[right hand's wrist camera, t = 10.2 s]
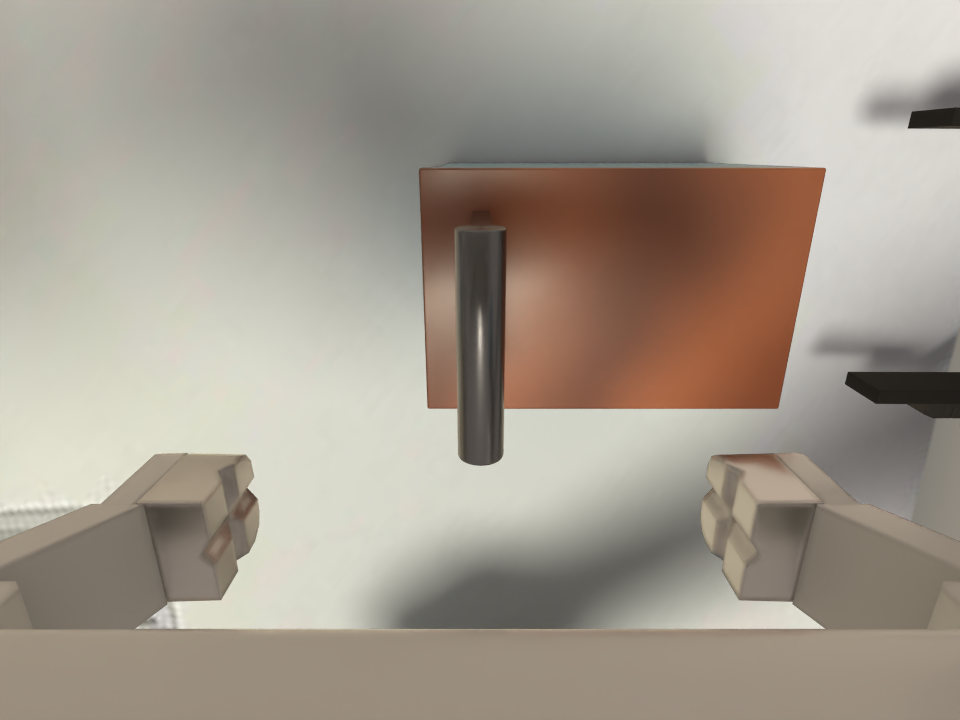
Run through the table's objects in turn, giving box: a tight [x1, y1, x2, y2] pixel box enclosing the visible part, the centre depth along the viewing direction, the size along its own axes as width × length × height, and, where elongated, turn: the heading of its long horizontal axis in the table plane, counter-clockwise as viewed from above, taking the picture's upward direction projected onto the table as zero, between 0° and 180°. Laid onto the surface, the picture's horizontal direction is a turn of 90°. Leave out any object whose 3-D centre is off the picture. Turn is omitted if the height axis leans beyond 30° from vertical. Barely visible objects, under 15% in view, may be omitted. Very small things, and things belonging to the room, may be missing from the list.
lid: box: [419, 167, 826, 466], centre depth 20 cm, size 15×10×8 cm, turn 90°
